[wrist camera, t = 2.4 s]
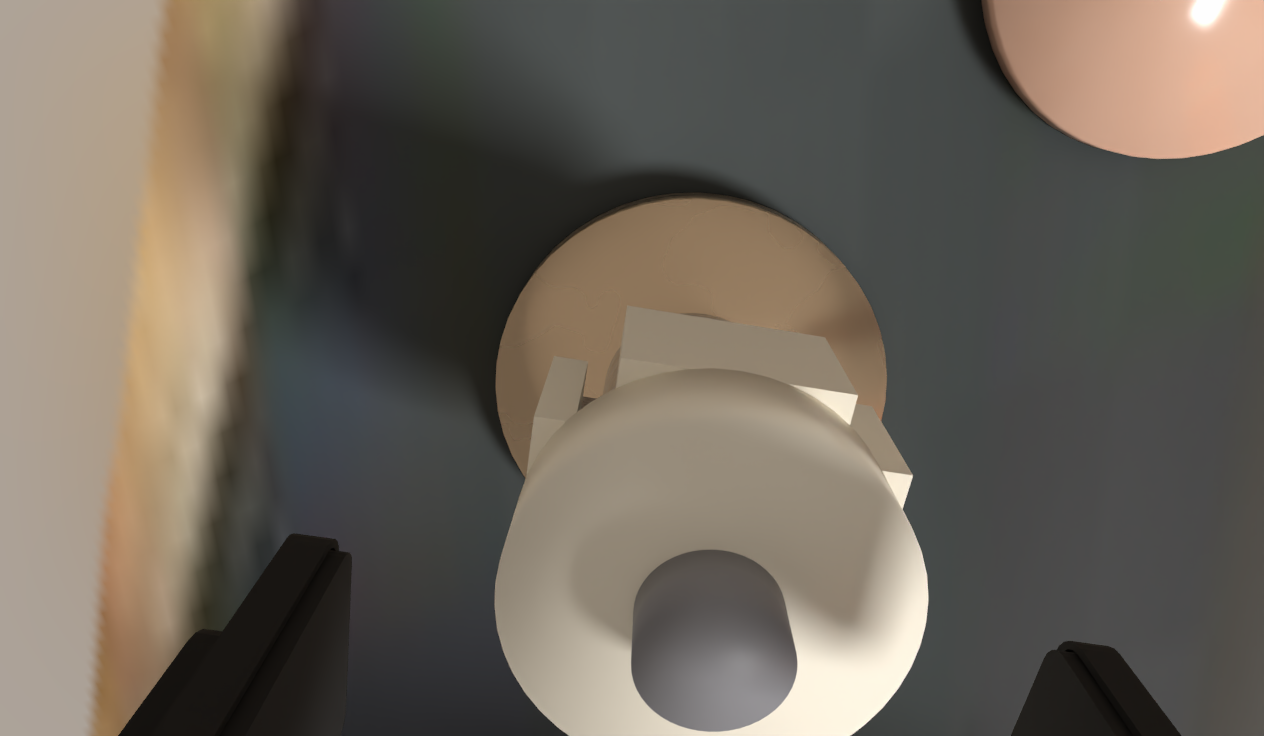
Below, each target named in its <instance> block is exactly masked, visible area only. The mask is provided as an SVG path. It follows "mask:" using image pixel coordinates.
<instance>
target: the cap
mask: <svg viewBox="0 0 1264 736" xmlns="http://www.w3.org/2000/svg"><path fill="white" fill-rule="evenodd" d="M587 366H588V361H583V360H577V359H571V358H564V357H558V356H554V358H553V361H552V364H551V367H550V370H549V373H548V376H547V379H546V382H545V385H544V388H543V391H542V394H541V397H540V400H539V403H538V406H537V409H536V412H535V415H534V420H533V428H532V436H531V443H530V451H529V459H528V467H527V475H526V480H525V482H524V485H523V488H522V490H521V493H520V496H519V499H518V503H517V506H516V509H515V512H514V516H513V519H512V522H511V525H510V529H509V532H508V535H507V538H506V542H505V545H504V548H503V551H502V555H501V558H500V562H499V567H498V572H497V577H496V582H495V605H494V607H495V615H496V624H497V631H498V634H499V638H500V642H501V645H502V649H503V652H504V654H505V657H506V659H507V661H508V664H509V666H510V668H511V670H512V673H513V674H514V676H515V678H516V679H517V681H518V682H519V684H520V686H521V687H522V689H523V690H524V692H525V693H526V695H527V696H528V697H529V698H530V699H531V701H532V702H533V703H534V704H535V705H536V707H537V708H538V709H539V710H540V711H541V712H542V713H543V714H544V715H545V716H546V717H547V718H548V719H549V720H550V721H551V722H552V723H553V724H555V725H556V726H557V727H558V728H559V729H560V730H562V731H563V732H565V733H566V734H567V735H569V736H850V735H852V734H853V733H854V732H856V731H857V730H858V729H860V728H861V727H863V726H864V725H865V724H866V723H867V722H868V721H869V720H870V719H871V718H872V717H873V716H875V715H876V714H877V713H878V712H879V711H880V710H881V709H882V708H883V707H884V706H885V704H886V703H887V702H888V701H889V699H890V698H891V697H892V696H893V694H894V693H895V692H896V691H897V690H898V688H899V686H900V685H901V683H902V682H903V680H904V678H905V677H906V675H907V673H908V672H909V670H910V668H911V666H912V664H913V661H914V659H915V657H916V654H917V652H918V650H919V647H920V644H921V640H922V637H923V633H924V629H925V625H926V618H927V608H928V585H927V574H926V569H925V565H924V560H923V556H922V551H921V549H920V546H919V544H918V541H917V539H916V536H915V534H914V531H913V529H912V527H911V525H910V523H909V521H908V519H907V517H906V515H905V514H904V512H903V510H902V509H903V506H904V503H905V500H906V496H907V493H908V490H909V487H910V484H911V480H912V477H913V475H912V473H911V471H910V470H909V468H908V466H907V465H906V463H905V461H904V459H903V458H902V456H901V454H900V453H899V451H898V449H897V448H896V446H895V444H894V443H893V441H892V439H891V437H890V436H889V434H888V432H887V431H886V429H885V427H884V426H883V424H882V422H881V421H880V419H879V417H878V415H877V414H876V412H875V410H874V409H873V407H872V406H867V405H861V404H856V401H857V398H858V394H857V392H856V391H855V389H854V387H853V385H852V384H851V382H850V380H849V378H848V377H847V375H846V373H845V371H844V370H843V368H842V366H841V364H840V363H839V361H838V359H837V357H836V356H835V354H834V352H833V350H832V349H831V347H830V345H829V343H828V342H827V340H826V338H825V337H820V336H814V335H808V334H802V333H795V332H789V331H783V330H777V329H771V328H764V327H758V326H752V325H746V324H739V323H733V322H727V321H721V320H715V319H708V318H702V317H696V316H690V315H683V314H677V313H671V312H665V311H659V310H652V309H646V308H640V307H634V306H628V305H627V310H626V316H625V322H624V328H623V334H622V341H621V349H620V357H619V365H618V373H617V381H616V388H615V389H613V390H611V391H609V392H607V393H606V394H604V395H602V396H600V397H599V398H597V399H595V400H593V401H592V402H590V403H589V404H587V405H586V406H585V407H583V408H582V409H581V406H582V400H583V393H584V386H585V379H586V373H587Z"/></svg>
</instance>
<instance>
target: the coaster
mask: <svg viewBox="0 0 1264 736" xmlns="http://www.w3.org/2000/svg"><path fill="white" fill-rule="evenodd" d="M981 2H982V8H983V15H984V21H985V26H986V30H987V33H988V37H989V40H990V43H991V47H992V50H993V52H994V54H995V57H996V59H997V61H998V63H999V65H1000V68H1001V70H1002V72H1003V74H1004V75H1005V77H1006V78H1007V80H1008V81H1009V83H1010V85H1011V86H1012V88H1013V89H1014V91H1015V92H1016V94H1017V95H1018V96H1019V97H1020V98H1021V99H1022V100H1023V101H1024V103H1025V104H1026V105H1027V106H1028V107H1029V108H1030V109H1031V110H1032V111H1033V112H1034V113H1035V114H1036V115H1037V116H1039V117H1040V118H1041V119H1042V120H1044V121H1045V122H1046V123H1047V124H1048V125H1050V126H1051V127H1053V128H1054V129H1056V130H1058V131H1060V132H1061V133H1063V134H1065V135H1066V136H1068V137H1070V138H1072V139H1074V140H1077V141H1079V142H1082V143H1084V144H1087V145H1089V146H1092V147H1096V148H1100V149H1104V150H1108V151H1112V152H1116V153H1120V154H1125V155H1129V156H1134V157H1144V158H1154V159H1168V158H1187V157H1193V156H1199V155H1205V154H1211V153H1214V152H1218V151H1221V150H1225V149H1228V148H1232V147H1235V146H1238V145H1241V144H1243V143H1246V142H1248V141H1251V140H1253V139H1255V138H1258V137H1260V136H1263V135H1264V0H981Z"/></svg>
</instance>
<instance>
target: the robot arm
mask: <svg viewBox="0 0 1264 736" xmlns="http://www.w3.org/2000/svg"><path fill="white" fill-rule="evenodd" d="M351 569H352V557H351V554H350V553H348V552H341V551H339V545H338V542H337V540H336V539H330V538H323V537H316V536H309V535H301V534H291V535H289V537H288V538H287V539H286V540H285V542H284V543H283V545H282V546H281V547H280V549H279V550H278V552H277V553H276V555H275V556H274V558H273V559H272V561H271V562H270V563H269V565H268V566H267V568H266V569H265V571H264V572H263V574H262V575H261V577H260V578H259V579H258V581H257V582H256V584H255V585H254V587H253V588H252V590H251V591H250V592H249V594H248V595H247V597H246V598H245V600H244V601H243V603H242V604H241V606H240V607H239V608H238V610H237V611H236V613H235V614H234V616H233V617H232V619H231V620H230V622H229V623H228V624H227V626H226V627H225V629H224V630H223V632H222V631H214V630H207V629H202V630H200V631H198V632H196V633H195V634H194V635H193V636H192V637H191V638H190V639H189V640H188V642H187V643H186V644H185V646H184V647H183V648H182V650H181V651H180V652H179V654H178V655H177V656H176V658H175V659H174V661H173V662H172V663H171V665H170V666H169V667H168V669H167V670H166V671H165V673H164V674H163V675H162V677H161V678H160V680H159V681H158V682H157V684H156V685H155V686H154V688H153V689H152V690H151V692H150V693H149V695H148V696H147V697H146V699H145V700H144V701H143V703H142V704H141V705H140V707H139V708H138V710H137V711H136V712H135V714H134V715H133V716H132V718H131V719H130V720H129V722H128V723H127V724H126V726H125V727H124V729H123V730H122V731H121V733H120V734H119V735H118V736H341V732H342V729H343V725H344V720H345V714H346V696H347V671H348V646H349V620H350V595H351ZM1011 736H1181V735H1180V733H1179V732H1178V731H1177V729H1176V728H1175V727H1174V725H1173V724H1172V723H1171V721H1170V720H1169V719H1168V717H1167V716H1166V715H1165V713H1164V712H1163V711H1162V710H1161V708H1160V707H1159V706H1158V704H1157V703H1156V702H1155V700H1154V699H1153V698H1152V696H1151V695H1150V694H1149V692H1148V691H1147V690H1146V688H1145V687H1144V686H1143V684H1142V683H1141V682H1140V680H1139V679H1138V678H1137V676H1136V675H1135V674H1134V672H1133V671H1132V670H1131V668H1130V667H1129V666H1128V664H1127V663H1126V662H1125V661H1124V659H1123V658H1122V657H1121V655H1120V654H1119V653H1118V652H1117V651H1116V650H1115V649H1114V648H1111V647H1109V646H1103V645H1096V644H1089V643H1081V642H1074V641H1066V642H1063V643H1062V644H1061V645H1060V646H1059V647H1058V649H1057V650H1051V651H1050V652H1048V653H1047V654H1046V656H1045V658H1044V660H1043V662H1042V665H1041V667H1040V669H1039V672H1038V674H1037V676H1036V679H1035V681H1034V683H1033V686H1032V688H1031V690H1030V693H1029V695H1028V697H1027V699H1026V702H1025V704H1024V706H1023V709H1022V711H1021V713H1020V716H1019V718H1018V720H1017V723H1016V725H1015V727H1014V730H1013V732H1012V734H1011Z"/></svg>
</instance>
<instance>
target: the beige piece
mask: <svg viewBox="0 0 1264 736" xmlns="http://www.w3.org/2000/svg"><path fill="white" fill-rule="evenodd" d="M627 305H628V306H634V307H640V308H646V309H652V310H659V311H665V312H671V313H677V314H683V315H690V316H696V317H702V318H708V319H715V320H721V321H727V322H733V323H739V324H746V325H752V326H758V327H764V328H771V329H777V330H783V331H789V332H795V333H802V334H808V335H814V336H820V337H825V338H826V340H827V342H828V343H829V345H830V347H831V349H832V350H833V352H834V354H835V356H836V357H837V359H838V361H839V363H840V364H841V366H842V368H843V370H844V371H845V373H846V375H847V377H848V378H849V380H850V382H851V384H852V385H853V387H854V389H855V391H856V392H857V394H858V398H857V401H856V404H861V405H867V406H872V407H873V409H874V410H875V412H876V414H877V415H878V417H879V419H880V421H881V419H882V414H883V410H884V405H885V397H886V384H887V373H886V358H885V351H884V346H883V342H882V337H881V333H880V329H879V326H878V324H877V321H876V318H875V316H874V313H873V310H872V308H871V306H870V304H869V302H868V300H867V299H866V297H865V295H864V293H863V291H862V290H861V288H860V286H859V284H858V283H857V282H856V280H855V279H854V278H853V277H852V275H851V274H850V273H849V271H848V270H847V269H846V267H845V266H844V265H843V264H842V262H841V261H840V260H839V259H838V258H837V256H836V255H835V254H834V253H833V252H832V251H831V250H830V249H829V248H828V247H827V246H826V245H825V244H824V243H823V242H822V241H821V240H820V239H819V238H817V237H816V236H815V235H813V234H812V233H811V232H809V231H808V230H807V229H805V228H804V227H803V226H801V225H800V224H799V223H797V222H795V221H794V220H792V219H790V218H788V217H786V216H784V215H783V214H781V213H779V212H777V211H775V210H773V209H770V208H768V207H765V206H762V205H760V204H757V203H755V202H752V201H749V200H744V199H740V198H736V197H731V196H727V195H720V194H710V193H700V192H694V193H671V194H665V195H659V196H653V197H647V198H643V199H640V200H636V201H633V202H630V203H627V204H623V205H620V206H618V207H616V208H614V209H612V210H609V211H607V212H605V213H603V214H601V215H599V216H597V217H595V218H593V219H592V220H590V221H589V222H587V223H585V224H584V225H582V226H581V227H579V228H577V229H576V230H575V231H573V232H572V233H571V234H570V235H569V236H567V237H566V238H565V239H564V240H563V241H561V242H560V243H559V244H558V245H557V246H556V247H555V248H554V249H553V250H552V251H551V252H550V253H549V254H548V255H547V256H546V258H545V259H544V260H543V261H542V262H541V263H540V264H539V265H538V267H537V268H536V270H535V271H534V273H533V274H532V276H531V277H530V279H529V280H528V282H527V283H526V284H525V286H524V288H523V290H522V292H521V293H520V295H519V297H518V299H517V301H516V303H515V305H514V307H513V309H512V311H511V313H510V315H509V317H508V320H507V323H506V326H505V329H504V332H503V335H502V338H501V342H500V347H499V353H498V358H497V364H496V397H497V407H498V413H499V418H500V422H501V426H502V430H503V434H504V436H505V439H506V441H507V444H508V446H509V449H510V451H511V454H512V456H513V458H514V460H515V461H516V463H517V465H518V467H519V468H520V470H521V472H522V474H523V475H524V477H525V478H526V475H527V467H528V459H529V451H530V443H531V436H532V428H533V420H534V415H535V412H536V409H537V406H538V403H539V400H540V397H541V394H542V391H543V388H544V385H545V382H546V379H547V376H548V373H549V370H550V367H551V364H552V361H553V358H554V356H558V357H564V358H571V359H577V360H583V361H588V366H587V373H586V379H585V386H584V393H583V400H582V406H581V409H582V408H583V407H585V406H586V405H587V404H589V403H590V402H592V401H593V400H595V399H597V398H599V397H600V396H602V395H604V394H606V393H607V392H609V391H611V390H613V389H615V388H616V381H617V373H618V365H619V357H620V349H621V341H622V334H623V328H624V322H625V316H626V310H627Z"/></svg>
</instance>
